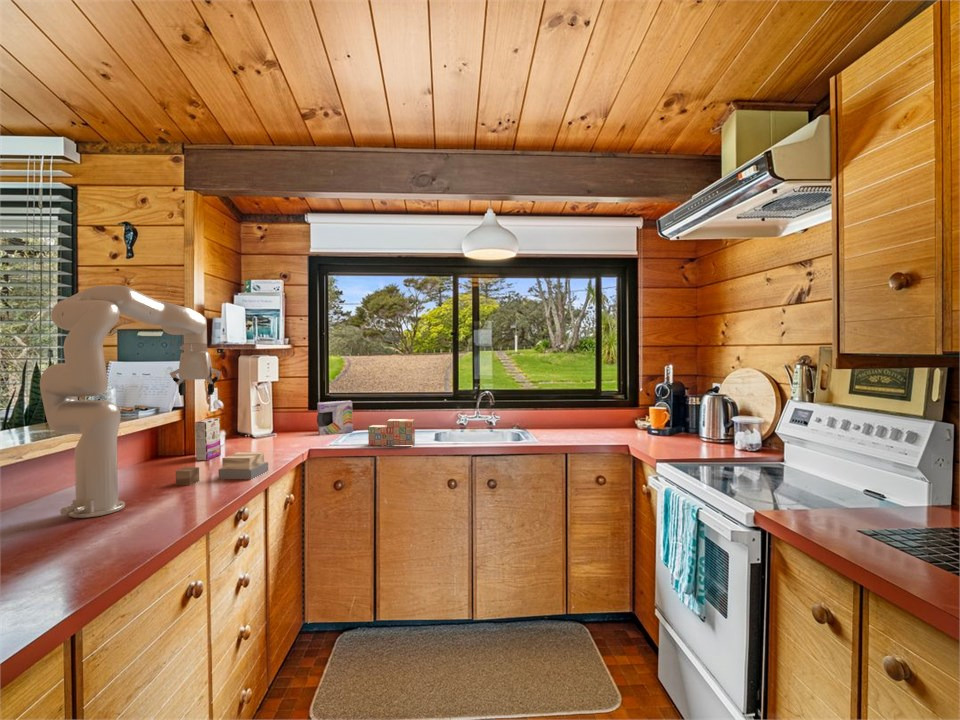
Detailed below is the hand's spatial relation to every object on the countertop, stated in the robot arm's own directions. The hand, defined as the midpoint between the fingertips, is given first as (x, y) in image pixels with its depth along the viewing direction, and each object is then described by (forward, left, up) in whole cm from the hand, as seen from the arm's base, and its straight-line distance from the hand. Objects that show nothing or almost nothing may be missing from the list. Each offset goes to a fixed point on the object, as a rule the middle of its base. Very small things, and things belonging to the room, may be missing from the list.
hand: (196, 394), depth 182 cm
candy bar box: (+26, +13, -30) cm, 41 cm away
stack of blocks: (+57, -59, -30) cm, 87 cm away
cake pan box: (+89, -19, -30) cm, 96 cm away
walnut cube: (-13, -5, -30) cm, 33 cm away
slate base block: (-2, -19, -30) cm, 36 cm away
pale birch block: (-2, -19, -26) cm, 32 cm away
